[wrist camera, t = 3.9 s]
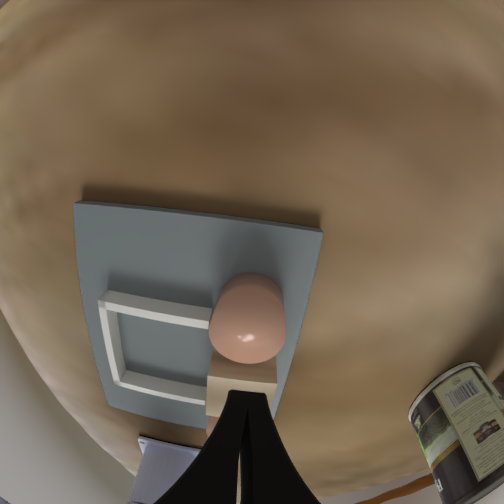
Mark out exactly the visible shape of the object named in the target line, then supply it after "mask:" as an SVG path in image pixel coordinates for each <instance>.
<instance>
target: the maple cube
mask: <svg viewBox="0 0 504 504" xmlns="http://www.w3.org/2000/svg"><path fill="white" fill-rule="evenodd" d="M276 387H277V367H276V355H275V356H274V357H272V358H270V359H268V360H266V361H263V362H260V363H253V364H246V363H239V362H235V361H232V360H230V359H228V358H226V357H224V356H223V355H221V354H220V353H219V352H218V351H217V350H216V349H215V348H214V349H213V353H212V358H211V362H210V367H209V371H208V376H207V397H206V415H209V416H215V417H220V415H221V413H222V410H223V408H224V405H225V403H226V399H227V396H228V391H229V390H231V389H233V390H241V391H250V392H260V393H265V394H266V395H267V400H268V404H269V408H271V404H272V401H273V397H274V394H275V391H276Z"/></svg>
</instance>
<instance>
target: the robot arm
mask: <svg viewBox="0 0 504 504" xmlns="http://www.w3.org/2000/svg"><path fill="white" fill-rule="evenodd" d="M138 442H139V445H140V448H141V451H142V453H143V457H142V460H141V463H140V466H139V469H138V473H137V476H136V479H135V482H134V486H133V489H132V492H131V495H130V498H129V501H127V504H236V497H237V477H238V461H239V453H240V468H241V502H240V504H321V503H320V502H319V501H318V500H317V499H316V497H315V496H314V495H313V494H312V492H311V491H310V490H309V488H308V487H307V485H306V484H305V483H304V481H303V480H302V478H301V476H300V475H299V473H298V472H297V470H296V468H295V467H294V465H293V463H292V461H291V459H290V457H289V456H288V454H287V452H286V450H285V447H284V445H283V443H282V441H281V439H280V436H279V434H278V431H277V429H276V426H275V424H274V421H273V418H272V415H271V411H270V408H269V404H268V400H267V395H266V394H265V393H260V392H250V391H241V390H233V389H231V390H229V391H228V396H227V399H226V403H225V405H224V408H223V410H222V413H221V415H220V417H219V419H218V421H217V423H216V425H215V427H214V429H213V431H212V433H211V435H210V436H209V438H208V439H207V441H206V443H205V444H204V446H203V447H202V449H196V448H190V447H185V446H180V445H175V444H171V443H166V442H162V441H158V440H154V439H150V438H146V437H142V436H138ZM0 504H10V503H9V502H7V501H6V500H4V499H3V498H2V497H0Z"/></svg>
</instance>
